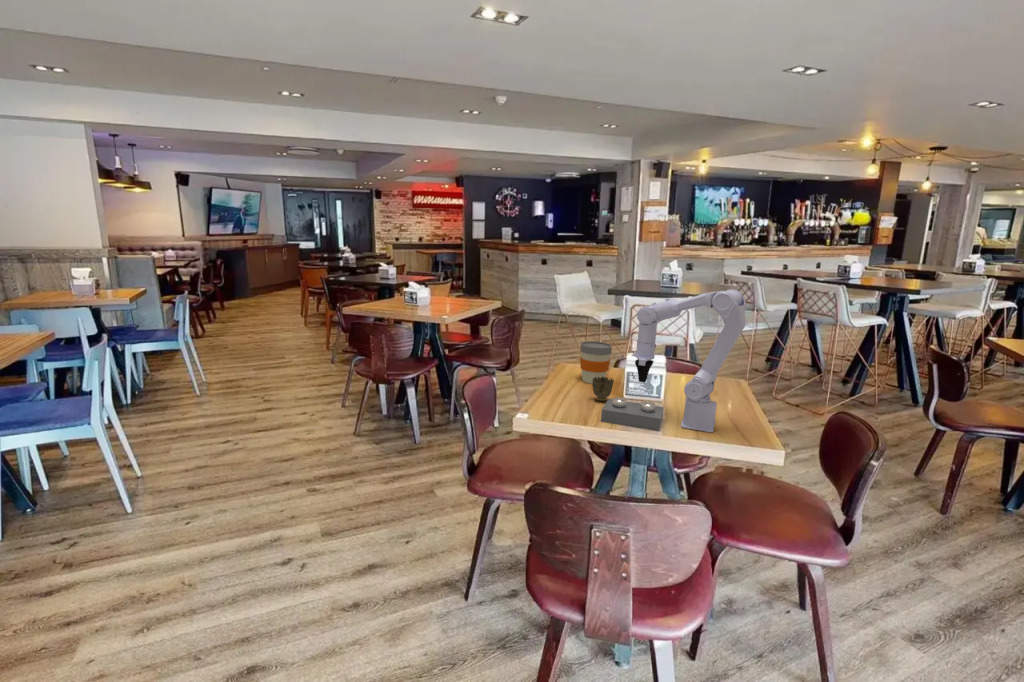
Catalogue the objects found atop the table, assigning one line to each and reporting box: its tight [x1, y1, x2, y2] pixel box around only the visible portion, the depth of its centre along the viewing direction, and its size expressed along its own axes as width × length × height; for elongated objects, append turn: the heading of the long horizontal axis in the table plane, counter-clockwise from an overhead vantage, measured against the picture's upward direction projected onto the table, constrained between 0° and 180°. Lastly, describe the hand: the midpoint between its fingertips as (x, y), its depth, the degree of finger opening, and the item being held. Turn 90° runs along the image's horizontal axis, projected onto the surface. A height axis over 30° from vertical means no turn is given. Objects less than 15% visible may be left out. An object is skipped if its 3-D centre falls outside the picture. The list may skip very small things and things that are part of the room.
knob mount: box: [600, 398, 665, 432], centre depth 167 cm, size 18×12×4 cm, turn 69°
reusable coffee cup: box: [579, 341, 612, 385], centre depth 209 cm, size 13×13×15 cm
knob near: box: [640, 401, 657, 412], centre depth 165 cm, size 4×4×5 cm
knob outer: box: [612, 396, 628, 408], centre depth 168 cm, size 4×4×5 cm
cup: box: [592, 376, 614, 403], centre depth 185 cm, size 8×7×8 cm
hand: (642, 381), depth 174 cm, fingers closed
